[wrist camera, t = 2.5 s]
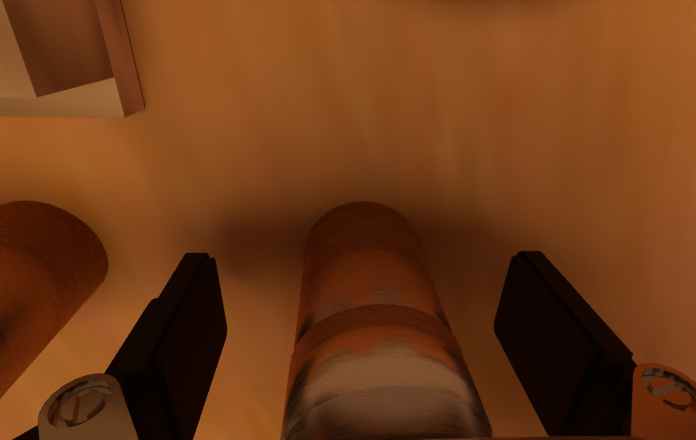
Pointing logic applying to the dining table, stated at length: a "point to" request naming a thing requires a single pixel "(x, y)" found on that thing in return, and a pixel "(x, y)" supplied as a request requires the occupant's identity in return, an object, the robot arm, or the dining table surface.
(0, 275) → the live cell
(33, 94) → the tray
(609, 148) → the dining table surface
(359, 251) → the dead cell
